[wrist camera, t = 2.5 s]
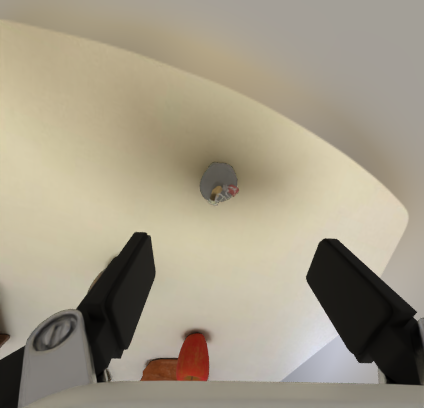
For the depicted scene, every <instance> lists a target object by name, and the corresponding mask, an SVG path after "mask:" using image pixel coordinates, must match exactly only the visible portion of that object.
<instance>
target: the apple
mask: <svg viewBox="0 0 424 408" xmlns="http://www.w3.org/2000/svg"><path fill="white" fill-rule="evenodd" d="M208 375H209V356H208V348H207V343H206V340H205V338H204V336H203V335H202V334H200V333H195V334H191V335H189V336H188V337H187V338H186V339H185V341H184V343H183V345H182V348H181V351H180V354H179V357H178V362H177V368H176V379H177V381H207V379H208Z"/></svg>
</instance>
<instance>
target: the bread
mask: <svg viewBox="0 0 424 408" xmlns="http://www.w3.org/2000/svg"><path fill="white" fill-rule="evenodd" d="M177 362H178V359H159V360H154V361H151V362H150V363H149V364H148V366H147V367H146V368H145V369H144V371H143V376H142V378H141V380H140V381H177V379H176V368H177Z"/></svg>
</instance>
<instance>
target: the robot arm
mask: <svg viewBox="0 0 424 408" xmlns="http://www.w3.org/2000/svg"><path fill="white" fill-rule="evenodd" d="M154 278H155V264H154V257H153V250H152V243H151V237H150V235H147V233H145V232H135V233H134V234H133V235H132V237H131V238H130V240H129V241H128V242H127V244H126V245H125V247H124V248H123V249H122V251H121V252H120V254H119V255H118V256H117V257H115V258H114V259H113V260H112V261H111V262H110V264H109V265H108V266H107V268H106V269H105V271H104V272H103V273H102V275H101V276H100V277H99V279H98V280H97V281H96V283H95V284H94V286H93V287H92V288H91V290H90V291H89V292H88V294H87V295H86V296H85V298H84V299H83V300H82V302H81V303H80V305H79V306H78V307H77V309H68V310H63V311H60V312H58V313H55V314H54V315H52V316H50V317H49V318H47V319H46V320H44V321H43V322H42V323H41V324H39V325H38V326H37V328H36V329H35V330H34V331H33V332H32V333H31V335H30V336H29V338H28V339H27V342H26V345H25V346H24V347H22V348H20V349H18V350H17V351H15V352H13V353H11V354H10V355H8V356H6V357H5V358H3V359H1V360H0V408H424V318H421V319H419V320H418V321H417V320H416V319H414V318H413V316H414V315H415V314H416V313H417V312H416V311H415V310H414V309H413V308H412V307H411V306H410V305H409V304H408V303H407V302H405V301H404V300H403V299H402V298H401V297H400V296H399V295H398V294H397V293H396V292H394V291H393V290H392V289H391V288H390V287H389V286H388V285H387V284H386V283H385V282H384V281H382V280H381V279H380V278H379V277H378V276H377V275H376V274H375V273H374V272H373V271H371V270H370V269H369V268H368V267H367V266H366V265H365V264H364V263H363V262H362V261H361V260H359V259H358V258H357V257H356V256H355V255H354V254H353V253H352V252H351V251H350V250H348V249H347V248H346V247H345V246H344V245H343V244H342V243H341V242H340V241H339V240H337V239H326V238H325V239H323V240H322V241H320V243H319V245H318V247H317V250H316V252H315V255H314V258H313V260H312V263H311V265H310V268H309V270H308V273H307V276H306V280H307V282H308V284H309V286H310V288H311V289H312V291H313V292H314V294H315V296H316V297H317V299H318V301H319V302H320V304H321V306H322V307H323V309H324V311H325V312H326V314H327V316H328V317H329V319H330V320H331V322H332V324H333V325H334V327H335V329H336V330H337V332H338V334H339V335H340V337H341V338H342V340H343V342H344V343H345V345H346V347H347V348H348V350H349V351H350V352H351V353H352V354H354V356H355V357H356V359H357V361H358V362H359V363H372V362H373V361H374V362H375V363H376V365H377V366H378V378H379V379H378V380H379V384H356V383H308V382H246V381H117V382H108V378H107V373H106V368H107V367H108V366H109V363H110V361H111V359H112V358H120V359H121V356H122V354H123V351H124V350H126V349H128V347H129V345H130V343H131V340H132V338H133V335H134V332H135V329H136V327H137V324H138V321H139V319H140V316H141V313H142V311H143V308H144V305H145V303H146V300H147V297H148V295H149V292H150V289H151V286H152V284H153V281H154Z"/></svg>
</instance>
